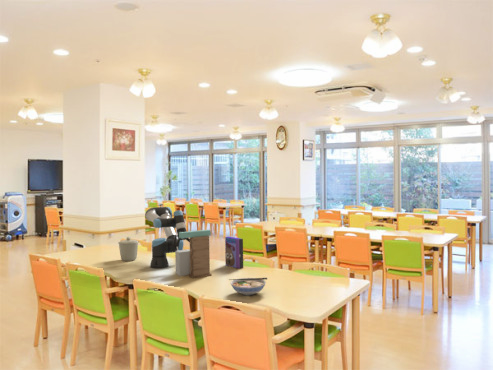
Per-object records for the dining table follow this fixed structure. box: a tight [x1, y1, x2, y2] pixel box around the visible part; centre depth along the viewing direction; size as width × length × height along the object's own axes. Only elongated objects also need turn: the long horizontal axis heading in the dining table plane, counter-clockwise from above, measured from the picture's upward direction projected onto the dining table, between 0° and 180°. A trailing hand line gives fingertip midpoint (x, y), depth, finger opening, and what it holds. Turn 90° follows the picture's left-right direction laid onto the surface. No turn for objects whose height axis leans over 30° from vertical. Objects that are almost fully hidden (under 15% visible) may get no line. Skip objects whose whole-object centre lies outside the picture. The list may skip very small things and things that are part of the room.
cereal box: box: [224, 236, 244, 270], centre depth 335 cm, size 17×5×24 cm, turn 41°
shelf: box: [174, 248, 190, 277], centre depth 314 cm, size 8×20×18 cm, turn 121°
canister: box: [117, 236, 140, 262], centre depth 368 cm, size 18×18×21 cm
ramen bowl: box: [228, 277, 268, 296], centre depth 257 cm, size 25×23×8 cm
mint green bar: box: [179, 229, 212, 239], centre depth 304 cm, size 4×24×4 cm, turn 121°
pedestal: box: [187, 236, 212, 279], centre depth 306 cm, size 9×15×30 cm, turn 121°
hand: (186, 254), depth 323 cm, fingers open, 13 cm apart
